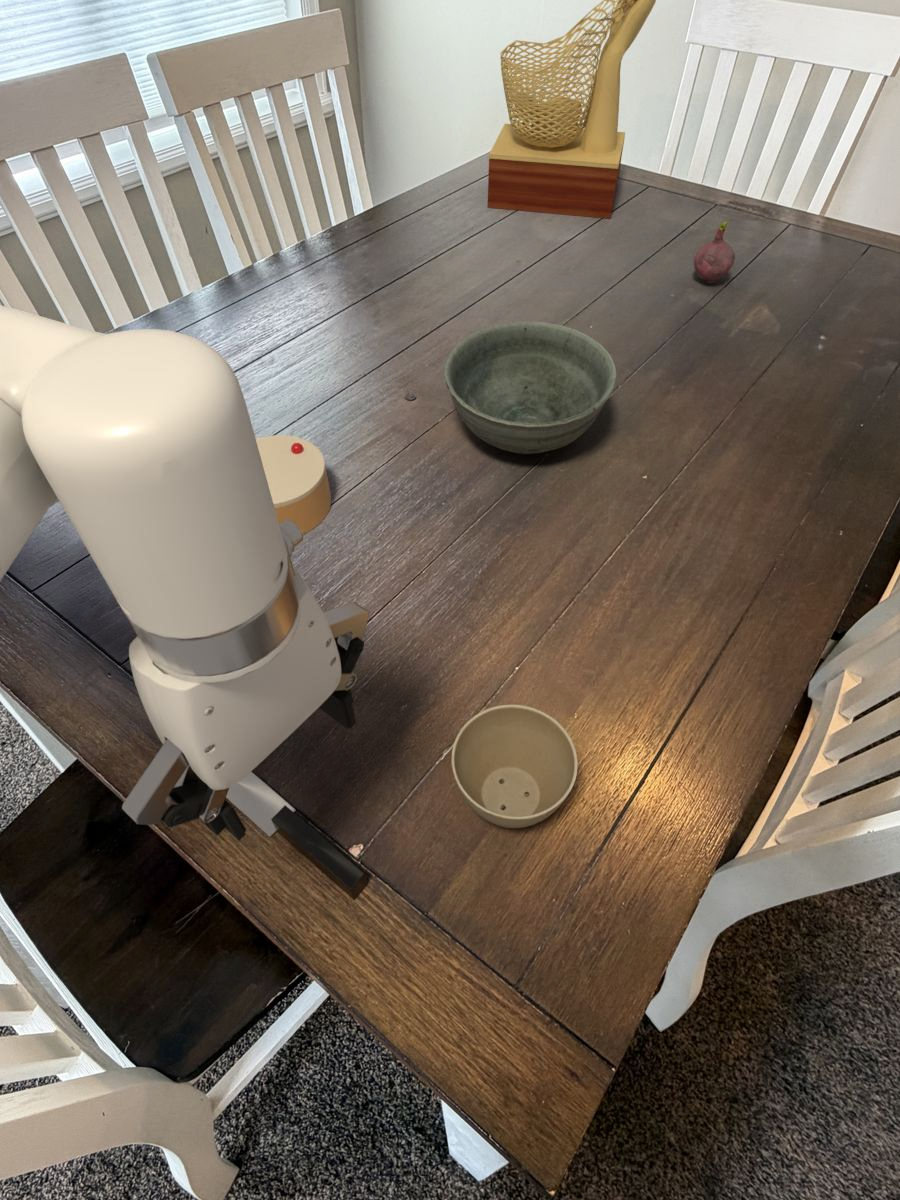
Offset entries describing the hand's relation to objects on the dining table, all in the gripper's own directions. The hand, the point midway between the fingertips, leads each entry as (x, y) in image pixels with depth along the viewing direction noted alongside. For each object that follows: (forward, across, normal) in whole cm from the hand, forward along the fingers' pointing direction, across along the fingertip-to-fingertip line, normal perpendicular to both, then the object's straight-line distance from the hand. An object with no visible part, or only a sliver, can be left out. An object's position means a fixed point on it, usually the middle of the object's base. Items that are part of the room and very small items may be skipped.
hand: (284, 766), depth 47 cm
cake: (+16, -27, -34) cm, 46 cm away
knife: (+16, 0, -5) cm, 17 cm away
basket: (+17, -120, -56) cm, 133 cm away
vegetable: (+17, -107, -18) cm, 110 cm away
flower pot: (+17, -14, +9) cm, 23 cm away
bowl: (+17, -56, -19) cm, 61 cm away
